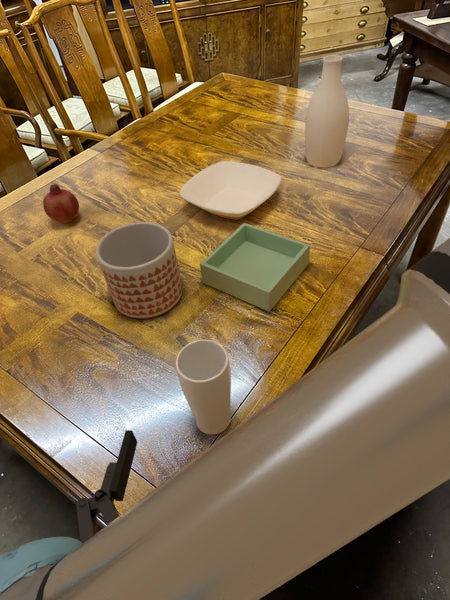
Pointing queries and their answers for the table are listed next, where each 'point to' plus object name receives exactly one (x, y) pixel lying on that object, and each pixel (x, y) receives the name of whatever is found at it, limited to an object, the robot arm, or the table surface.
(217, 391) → the white cup
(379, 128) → the table surface
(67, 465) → the table surface
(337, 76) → the bottle
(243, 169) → the bowl
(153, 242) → the planter
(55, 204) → the fruit
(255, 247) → the bin
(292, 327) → the table surface
